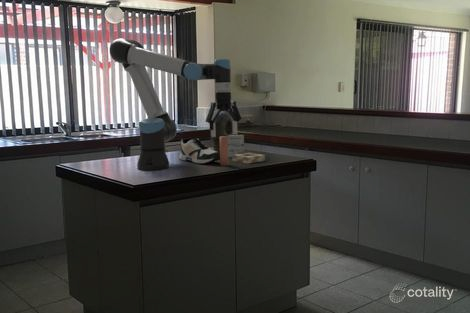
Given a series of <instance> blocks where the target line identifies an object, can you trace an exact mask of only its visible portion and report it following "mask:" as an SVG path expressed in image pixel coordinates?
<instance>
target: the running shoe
mask: <svg viewBox="0 0 470 313" xmlns="http://www.w3.org/2000/svg"><path fill="white" fill-rule="evenodd" d="M179 150H180V153H179V156H178V159H179V161H185V162H187V161H191V162H192V163H194V164H198V165H199V164H200V165H202V164H210V163H212V162H213V163H215V162H217V161H220V153H219V152H217V151H213V148H211V147H209V146H206V144H204V143H203V142H202V141H201V140H200V139H199V138H197V137H196V138H193V139H191V138H190V137H187V138H184V139H183V138H181V140H180V149H179Z"/></svg>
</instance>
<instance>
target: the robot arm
mask: <svg viewBox="0 0 470 313" xmlns="http://www.w3.org/2000/svg"><path fill="white" fill-rule="evenodd" d="M109 54H110V57H111V59H112V60H113V61H114V62H116V63H119V64H121V65H122V67H123V69H124V72H127V73H128V74H129V75H130V79H131V81H132V82H133V85H134V88H135V90H136V92H137V95H138V97H139V100H140V102H141V104H142V106H143V109H144V111H145V115H146V116H147V118H145V119H141V120H140V122H139V127H138V131H139V145H140V153H139V157H138V160H137V164H136V167H137V170H141V171H143V170H144V171H160V170H165V169H169V168H170V161H169V159H168V156H167V153H166V143H168V142H170V141H171V140H173V139H174V138H175V137H176V135H177V132H178V126H177V124H176V122H175V121H174V120H173V119H171V118H170V115H169V113H168V112H167V111H165V110H164V108H163V106H162V104H161V101H160V99H159V97H158V94H157V92H156V90H155V86H154V84H153V82H152V80H151V79H152V78H150V75H149V72H148V70H147V68H150V69H155V70H157V71H161V72H163V73H164V72H165V73H169V74H172V75H176V76H179V77H182V78H186V79H188V80H189V81H204V80H208V81H209V80H214V89H215V90H214V91H215V101H216V102H215V101H213V102H212V101H211V102H210V107H209V110H208V113H207V115H206V119H205V122H206V123H208V124H209V130H210V138H211V137H216V133H215V123H214V121H215V120H216V118H217V116H218V115H219V113H220V112H221V111H227V112H228V113H229V114H230V116H231V118H232V120H233V121H232V122H233V135H238V127H239V122H240V120H242V116H241V114H240V111H239V109H238V107H237V102H236V100H235V101H233V100H232V92H231V91H232V84H231V83H232V82H231V77H232V76H231V62H230V61H231V60H230V59H227V58H225V59H224V58H220V59H219V58H217V59H214V62H213V63H197V62H193V61H189V60H185V59H181V58H179V57H175V56H174V57H173V56H170V55H166V54H163V53H159V52H157V51H152V50H148V49H145V48H144V46H143V45H142V44H141V43H140V42H139V41H136V40H133V39H126V38H117V39H115V40H113V41H112V43H111V44H110V46H109ZM230 106H231V107H230Z"/></svg>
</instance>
